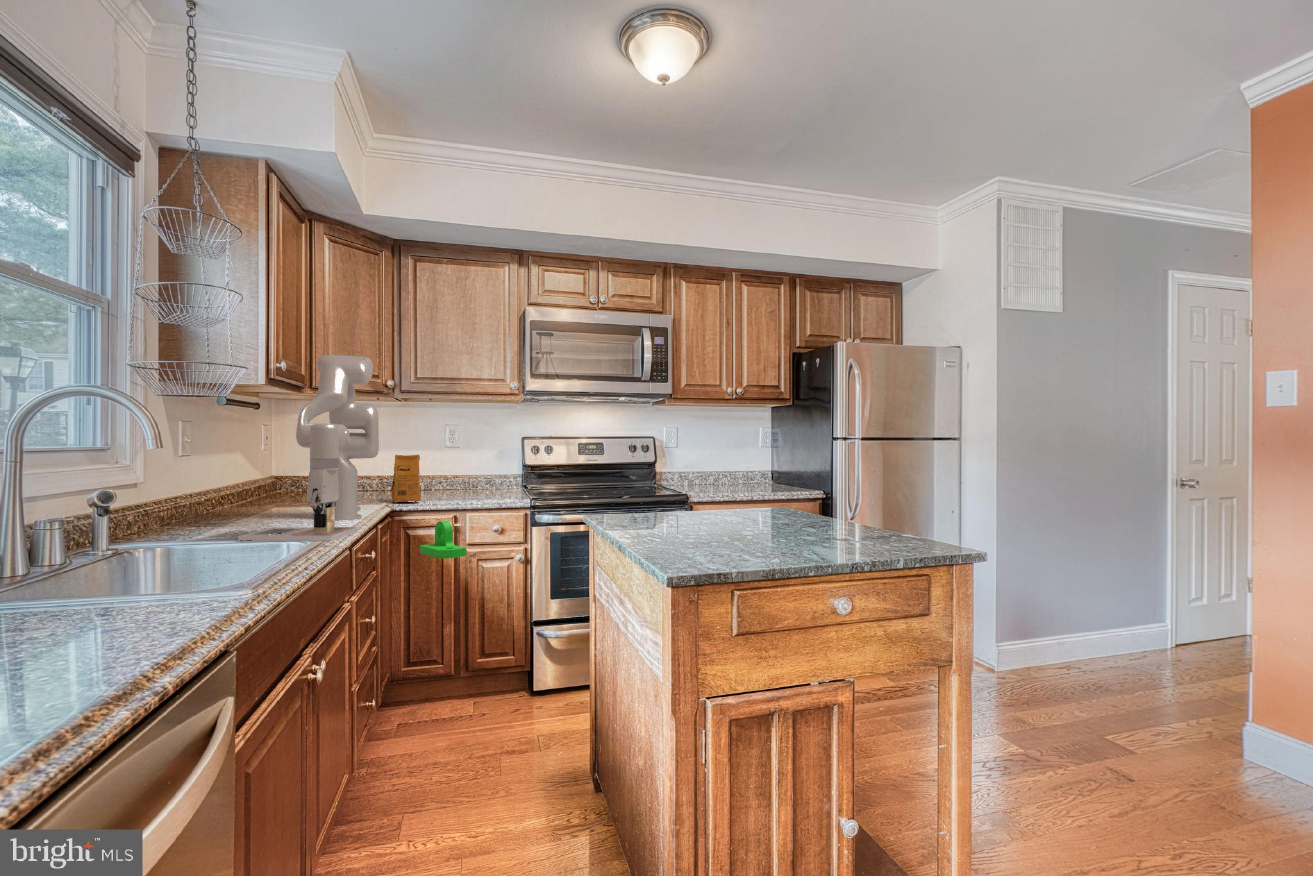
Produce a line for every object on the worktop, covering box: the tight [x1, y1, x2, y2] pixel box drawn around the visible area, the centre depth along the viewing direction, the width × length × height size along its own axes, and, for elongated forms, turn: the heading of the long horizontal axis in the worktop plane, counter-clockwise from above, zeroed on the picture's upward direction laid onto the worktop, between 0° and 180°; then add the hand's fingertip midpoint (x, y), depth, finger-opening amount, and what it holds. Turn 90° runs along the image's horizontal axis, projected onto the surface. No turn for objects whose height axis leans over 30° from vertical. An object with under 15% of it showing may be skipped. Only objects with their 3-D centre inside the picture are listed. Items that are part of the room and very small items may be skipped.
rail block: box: [237, 526, 358, 542], centre depth 177 cm, size 16×26×2 cm, turn 92°
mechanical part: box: [419, 520, 467, 559], centre depth 151 cm, size 12×6×8 cm, turn 48°
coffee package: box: [390, 454, 422, 502], centre depth 275 cm, size 10×12×22 cm
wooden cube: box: [313, 507, 335, 534], centre depth 178 cm, size 4×4×7 cm
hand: (324, 525), depth 178 cm, fingers closed on wooden cube, 4 cm apart
